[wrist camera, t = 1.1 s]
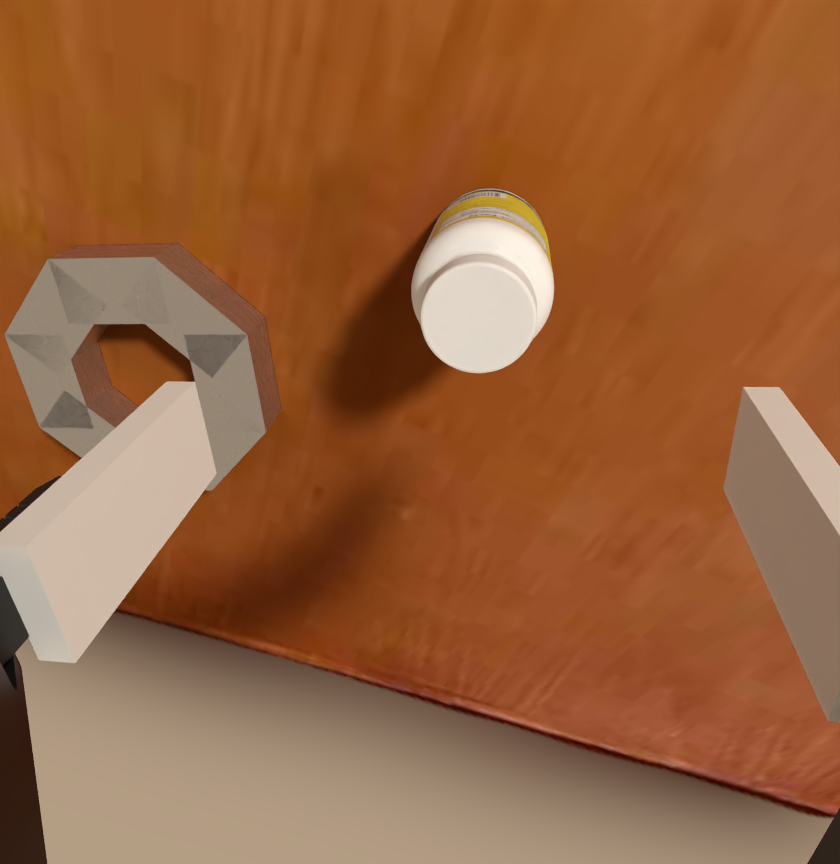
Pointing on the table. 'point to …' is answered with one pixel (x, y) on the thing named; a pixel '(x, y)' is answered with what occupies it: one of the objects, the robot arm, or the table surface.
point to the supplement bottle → (483, 281)
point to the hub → (168, 317)
